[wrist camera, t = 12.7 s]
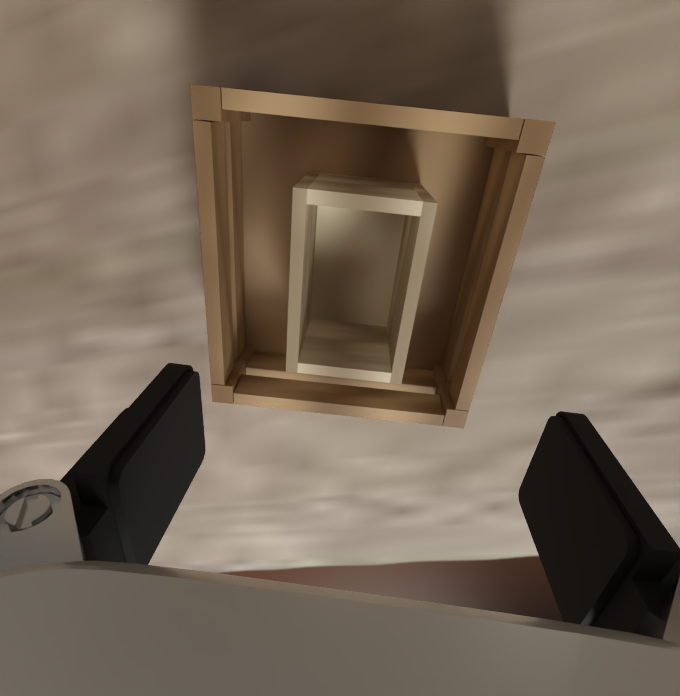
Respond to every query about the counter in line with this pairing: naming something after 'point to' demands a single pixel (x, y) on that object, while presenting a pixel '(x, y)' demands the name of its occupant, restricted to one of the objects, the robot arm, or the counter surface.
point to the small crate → (355, 274)
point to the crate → (372, 162)
